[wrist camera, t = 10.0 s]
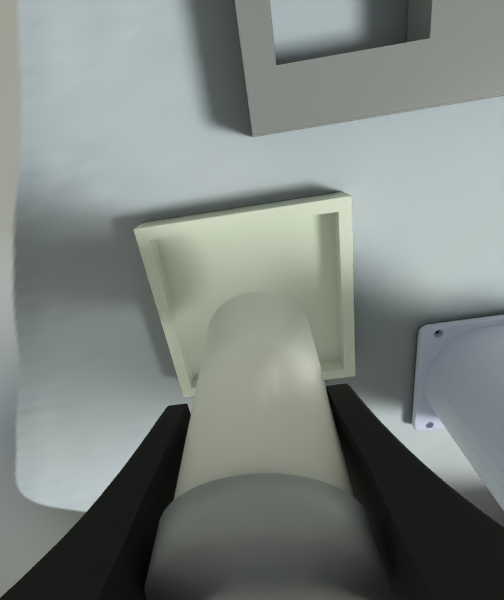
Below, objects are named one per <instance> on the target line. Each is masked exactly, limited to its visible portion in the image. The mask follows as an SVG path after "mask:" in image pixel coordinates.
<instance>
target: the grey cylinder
mask: <svg viewBox="0 0 504 600" xmlns="http://www.w3.org/2000/svg"><path fill="white" fill-rule="evenodd" d="M144 590H145V596H146V599H147V600H386V598H387V596H388V593H389V583H388V579H387V575H386V572H385V568H384V565H383V561H382V558H381V554H380V551H379V547H378V543H377V540H376V536H375V533H374V529H373V526H372V522H371V519H370V517H369V514H368V512H367V511H366V509H365V508H364V507H363V505H362V504H361V503H360V502H359V501H358V500H357V499H355V498H354V494H353V490H352V486H351V482H350V479H349V475H348V471H347V467H346V463H345V459H344V455H343V452H342V448H341V444H340V440H339V436H338V432H337V428H336V424H335V421H334V417H333V413H332V409H331V405H330V401H329V397H328V394H327V390H326V386H325V382H324V378H323V374H322V370H321V367H320V363H319V359H318V355H317V351H316V347H315V343H314V340H313V336H312V332H311V328H310V324H309V321H308V319H307V317H306V315H305V313H304V312H303V311H302V309H301V308H300V307H299V306H298V305H297V304H296V303H294V302H293V301H291V300H290V299H288V298H286V297H284V296H281V295H279V294H275V293H271V292H249V293H244V294H241V295H238V296H235V297H233V298H231V299H229V300H228V301H226V302H225V303H223V304H222V305H221V306H220V307H219V308H218V309H217V310H216V312H215V313H214V315H213V316H212V318H211V320H210V323H209V327H208V331H207V336H206V341H205V346H204V351H203V356H202V361H201V366H200V371H199V376H198V381H197V386H196V391H195V396H194V401H193V406H192V411H191V416H190V421H189V426H188V431H187V436H186V441H185V446H184V451H183V456H182V461H181V466H180V471H179V476H178V481H177V486H176V491H175V496H174V501H173V502H172V503H170V504H169V505H168V507H167V508H166V509H165V510H164V512H163V514H162V516H161V518H160V521H159V525H158V529H157V534H156V538H155V543H154V547H153V552H152V556H151V560H150V565H149V569H148V574H147V578H146V583H145V587H144Z"/></svg>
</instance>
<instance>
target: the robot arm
mask: <svg viewBox="0 0 504 600" xmlns="http://www.w3.org/2000/svg"><path fill="white" fill-rule="evenodd" d="M438 330H440V331H439V333H438V334H435V332H436V331H438ZM326 387H327V394H328V397H329V401H330V405H331V409H332V413H333V417H334V421H335V424H336V428H337V432H338V436H339V440H340V444H341V448H342V452H343V455H344V459H345V463H346V467H347V471H348V475H349V479H350V482H351V486H352V490H353V494H354V498H355V499H357V500H358V501H359V502H360V503H361V504H362V505H363V507H364V508H365V509H366V511H367V512H368V514H369V517H370V519H371V522H372V526H373V529H374V533H375V536H376V540H377V543H378V547H379V551H380V554H381V558H382V561H383V565H384V568H385V572H386V575H387V579H388V583H389V593H388V596H387V598H386V600H504V527H503V526H501V525H500V524H498V523H497V522H496V521H494V520H493V519H491V518H490V517H489V516H487V515H486V514H485V513H483V512H482V511H481V510H479V509H478V508H477V507H475V506H474V505H473V504H472V503H470V502H469V501H468V500H466V499H465V498H464V497H463V496H461V495H460V494H459V493H458V492H456V491H455V490H454V489H453V488H451V487H450V486H449V485H448V484H447V483H445V482H444V481H443V480H442V479H441V478H439V477H438V476H437V475H436V474H435V473H434V472H432V471H431V470H430V469H429V468H428V467H427V466H426V465H425V464H423V463H422V462H421V461H420V460H419V459H418V458H417V457H416V456H415V455H414V454H413V453H412V452H410V451H409V450H408V449H407V448H406V447H405V446H404V445H403V444H402V443H401V442H400V441H399V440H398V439H397V438H396V437H395V436H394V435H393V434H392V433H391V432H390V431H389V430H388V429H387V428H386V427H385V426H384V425H383V424H382V423H381V421H380V420H379V419H378V418H377V417H376V416H375V415H374V414H373V413H372V412H371V410H370V409H369V408H368V407H367V406H366V405H365V404H364V402H363V401H362V400H361V399H360V398H359V397H358V395H357V394H356V393H355V392H354V390H353V389H352V388H351V386H349V385H348V384H339V385H331V386H326ZM190 416H191V414H190V411H189V408H188V404H179V405H171V406H168V407H167V408H166V409H165V411H164V412H163V413H162V415H161V416H160V418H159V419H158V420H157V422H156V423H155V425H154V426H153V428H152V429H151V430H150V432H149V433H148V435H147V436H146V437H145V439H144V440H143V442H142V443H141V444H140V446H139V447H138V448H137V450H136V451H135V452H134V454H133V455H132V457H131V458H130V459H129V461H128V462H127V463H126V465H125V466H124V467H123V469H122V470H121V471H120V472H119V474H118V475H117V476H116V477H115V479H114V480H113V481H112V482H111V483H110V485H109V486H108V487H107V488H106V490H105V491H104V492H103V493H102V495H101V496H100V497H99V498H98V499H97V501H96V502H95V503H94V504H93V505H92V506H91V508H90V509H89V510H88V511H87V512H86V513H85V515H83V517H82V518H81V519H80V520H79V521H78V522H77V523H76V524H75V525H74V526H73V528H72V529H71V530H70V531H69V532H68V533H67V534H66V535H65V536H64V537H63V538H62V539H61V540H60V541H59V542H58V543H57V545H55V546H54V547H53V548H52V549H51V550H50V551H49V552H48V553H47V554H46V555H45V556H44V557H43V558H42V559H41V560H40V561H39V562H38V563H37V564H36V565H35V566H34V567H33V568H32V569H31V570H30V571H29V572H28V573H26V574H25V575H24V576H23V577H22V578H21V579H20V580H19V581H18V582H17V583H16V584H15V585H14V586H13V587H12V588H10V589H9V590H8V591H7V592H6V593H5V594H4V595H3V596H2V597H1V598H0V600H147V599H146V596H145V590H144V587H145V583H146V578H147V574H148V569H149V565H150V560H151V556H152V552H153V547H154V543H155V538H156V534H157V529H158V525H159V521H160V518H161V516H162V514H163V512H164V510H165V509H166V508H167V507H168V505H169V504H170V503H172V502H173V501H174V496H175V491H176V486H177V481H178V476H179V471H180V466H181V461H182V456H183V451H184V446H185V441H186V436H187V431H188V426H189V421H190ZM412 425H413V427H414V429H415V430H417V431H427V430H436V429H444V428H446V429H447V431H448V432H449V434H450V435H451V436H452V438H453V439H454V441H455V442H456V444H457V445H458V446H459V448H460V449H461V451H462V452H463V454H464V455H465V456H466V458H467V459H468V461H469V462H470V464H471V465H472V467H473V468H474V469H475V471H476V472H477V474H478V475H479V477H480V478H481V479H482V481H483V482H484V484H485V485H486V487H487V488H488V489H489V491H490V492H491V494H492V495H493V497H494V498H495V500H496V501H497V502H498V504H499V505H500V507H501V508H502V510H503V511H504V315H496V316H488V317H481V318H473V319H466V320H458V321H450V322H443V323H435V324H428V325H424V326H423V327H421V328H420V330H419V332H418V344H417V358H416V372H415V386H414V400H413V414H412Z"/></svg>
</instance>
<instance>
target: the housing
mask: <svg viewBox="0 0 504 600" xmlns="http://www.w3.org/2000/svg"><path fill="white" fill-rule="evenodd" d="M234 4H235V11H236V19H237V26H238V34H239V41H240V49H241V56H242V64H243V71H244V79H245V86H246V94H247V101H248V109H249V116H250V124H251V131H252V137H256V136H262V135H268V134H274V133H280V132H286V131H292V130H298V129H304V128H310V127H316V126H322V125H328V124H334V123H341V122H347V121H353V120H359V119H365V118H371V117H377V116H383V115H389V114H395V113H401V112H407V111H413V110H419V109H425V108H431V107H438V106H444V105H450V104H456V103H462V102H468V101H474V100H480V99H486V98H492V97H498V96H504V0H408V22H407V42H406V43H400V44H395V45H389V46H383V47H378V48H372V49H366V50H360V51H355V52H349V53H343V54H338V55H332V56H326V57H321V58H315V59H309V60H304V61H298V62H292V63H286V64H281V65H276V58H275V47H274V37H273V27H272V17H271V7H270V0H234Z"/></svg>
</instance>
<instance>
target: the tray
mask: <svg viewBox="0 0 504 600" xmlns="http://www.w3.org/2000/svg"><path fill="white" fill-rule="evenodd" d="M133 230H134V234H135V237H136V240H137V244H138V247H139V250H140V254H141V257H142V260H143V264H144V267H145V270H146V274H147V277H148V280H149V284H150V287H151V290H152V294H153V297H154V300H155V304H156V307H157V310H158V314H159V317H160V320H161V324H162V327H163V330H164V334H165V337H166V340H167V344H168V347H169V350H170V354H171V357H172V360H173V364H174V367H175V370H176V374H177V377H178V380H179V384H180V387H181V390H182V394H183V397H184V398H185V397H193V396H195V391H196V386H197V381H198V376H199V371H200V366H201V361H202V356H203V351H204V346H205V341H206V336H207V331H208V327H209V323H210V320H211V318H212V316H213V315H214V313H215V312H216V310H217V309H218V308H219V307H220V306H221V305H222V304H223V303H225V302H226V301H228V300H229V299H231V298H233V297H235V296H238V295H241V294H244V293H249V292H271V293H275V294H279V295H281V296H284V297H286V298H288V299H290V300H291V301H293V302H294V303H296V304H297V305H298V306H299V307H300V308H301V309H302V311H303V312H304V313H305V315H306V317H307V319H308V321H309V324H310V328H311V332H312V336H313V340H314V343H315V347H316V351H317V355H318V359H319V363H320V367H321V370H322V374H323V378H324V380H329V379H337V378H345V377H353V376H355V330H354V284H353V238H352V196H351V195H349V194H347V193H345V192H337V193H331V194H324V195H318V196H311V197H305V198H298V199H292V200H285V201H279V202H272V203H266V204H259V205H253V206H247V207H240V208H234V209H227V210H221V211H214V212H208V213H201V214H195V215H188V216H182V217H175V218H169V219H162V220H156V221H149V222H143V223H141V224H140V225H139V226H137V227H136V228H134V229H133Z"/></svg>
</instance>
